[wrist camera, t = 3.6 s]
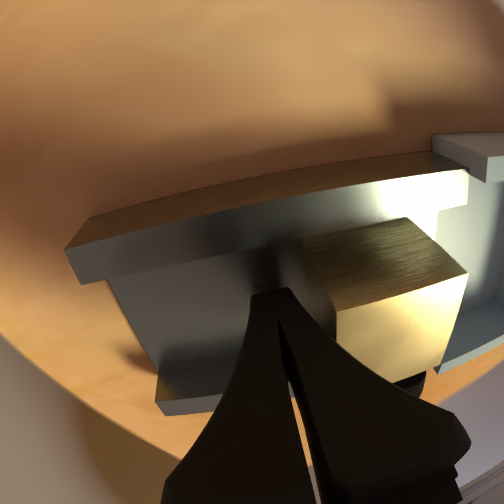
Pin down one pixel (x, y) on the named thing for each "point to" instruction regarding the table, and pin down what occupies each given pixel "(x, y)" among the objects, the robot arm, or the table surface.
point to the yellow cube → (385, 295)
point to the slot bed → (242, 255)
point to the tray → (475, 244)
